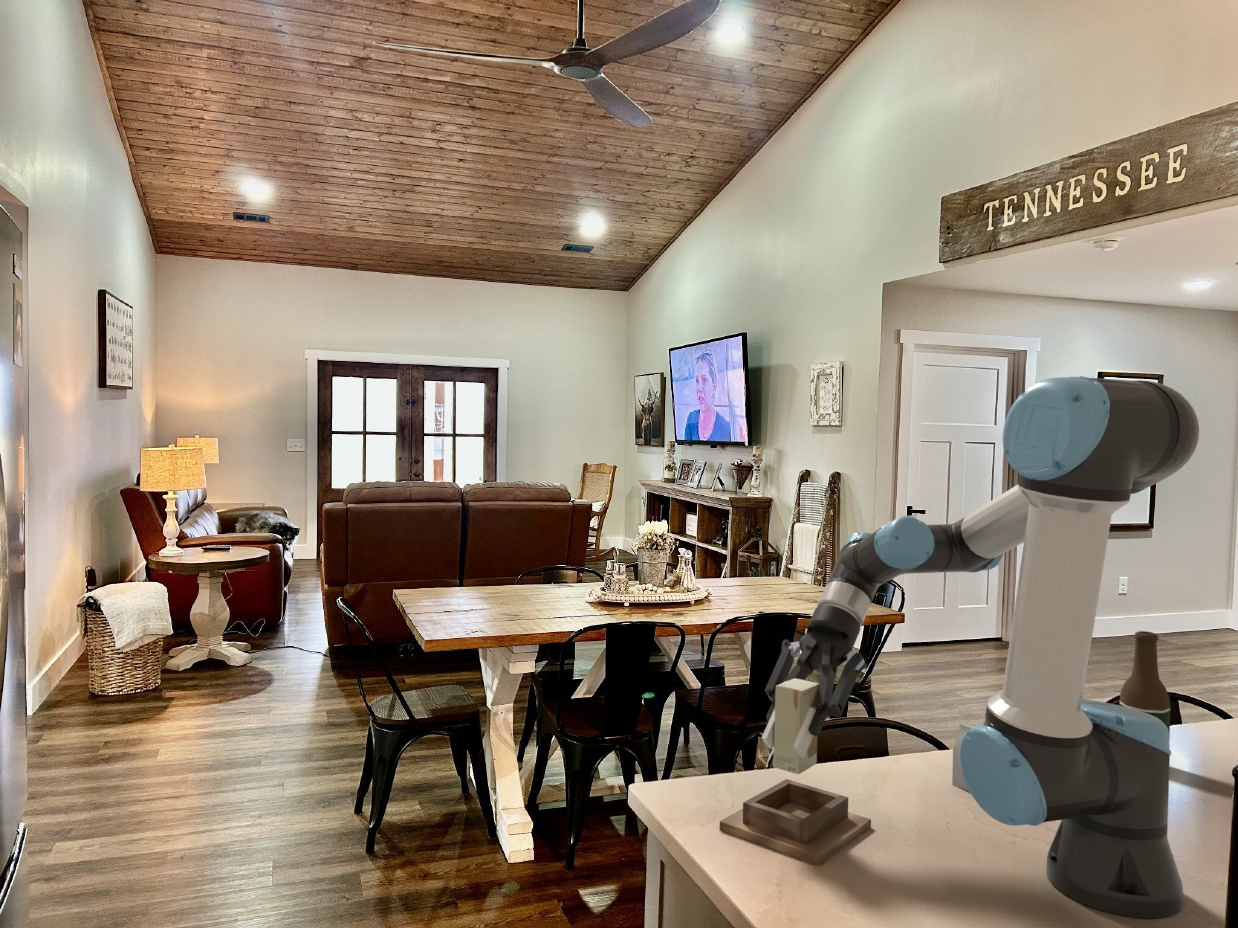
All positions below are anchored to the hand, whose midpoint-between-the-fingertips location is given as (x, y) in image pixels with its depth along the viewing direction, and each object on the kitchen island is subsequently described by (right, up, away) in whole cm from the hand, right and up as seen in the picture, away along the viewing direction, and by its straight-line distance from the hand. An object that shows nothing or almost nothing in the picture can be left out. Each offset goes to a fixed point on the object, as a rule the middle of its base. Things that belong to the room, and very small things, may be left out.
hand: (782, 747), depth 123 cm
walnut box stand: (+2, -13, +2) cm, 13 cm away
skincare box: (+2, -4, +3) cm, 6 cm away
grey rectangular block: (+36, -13, +19) cm, 43 cm away
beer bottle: (+71, -14, +31) cm, 79 cm away
